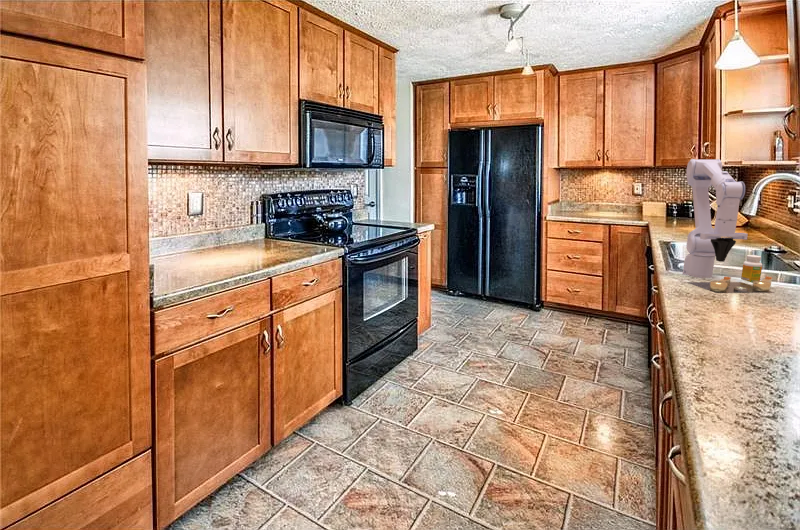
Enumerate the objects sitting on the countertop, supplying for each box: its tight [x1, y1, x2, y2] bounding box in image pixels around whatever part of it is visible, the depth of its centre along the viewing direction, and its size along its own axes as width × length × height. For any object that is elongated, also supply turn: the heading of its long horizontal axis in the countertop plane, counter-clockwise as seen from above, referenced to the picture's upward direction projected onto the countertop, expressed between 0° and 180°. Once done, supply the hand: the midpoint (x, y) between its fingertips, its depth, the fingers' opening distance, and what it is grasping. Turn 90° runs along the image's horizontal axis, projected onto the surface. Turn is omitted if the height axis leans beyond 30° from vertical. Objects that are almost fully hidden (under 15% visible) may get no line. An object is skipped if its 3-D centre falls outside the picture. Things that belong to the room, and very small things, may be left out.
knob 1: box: [710, 276, 732, 292], centre depth 152 cm, size 11×4×3 cm, turn 131°
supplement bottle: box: [740, 254, 763, 284], centre depth 166 cm, size 5×5×10 cm
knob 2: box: [752, 276, 773, 292], centre depth 153 cm, size 11×4×3 cm, turn 131°
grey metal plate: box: [687, 281, 775, 294], centre depth 155 cm, size 14×19×3 cm
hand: (720, 261), depth 157 cm, fingers closed
